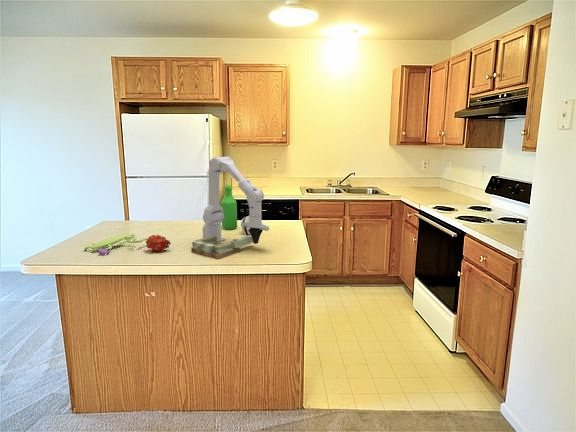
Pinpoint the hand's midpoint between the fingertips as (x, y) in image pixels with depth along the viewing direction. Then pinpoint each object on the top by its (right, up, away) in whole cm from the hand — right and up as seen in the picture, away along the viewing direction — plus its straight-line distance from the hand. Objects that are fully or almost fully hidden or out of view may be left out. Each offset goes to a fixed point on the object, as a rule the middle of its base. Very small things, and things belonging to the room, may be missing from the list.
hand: (255, 243), depth 186 cm
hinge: (-6, +4, +33) cm, 34 cm away
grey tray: (-19, -4, -3) cm, 19 cm away
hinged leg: (-6, 0, 0) cm, 6 cm away
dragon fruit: (-46, -4, -2) cm, 46 cm away
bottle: (-19, +6, +41) cm, 45 cm away
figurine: (-67, -3, +3) cm, 68 cm away
